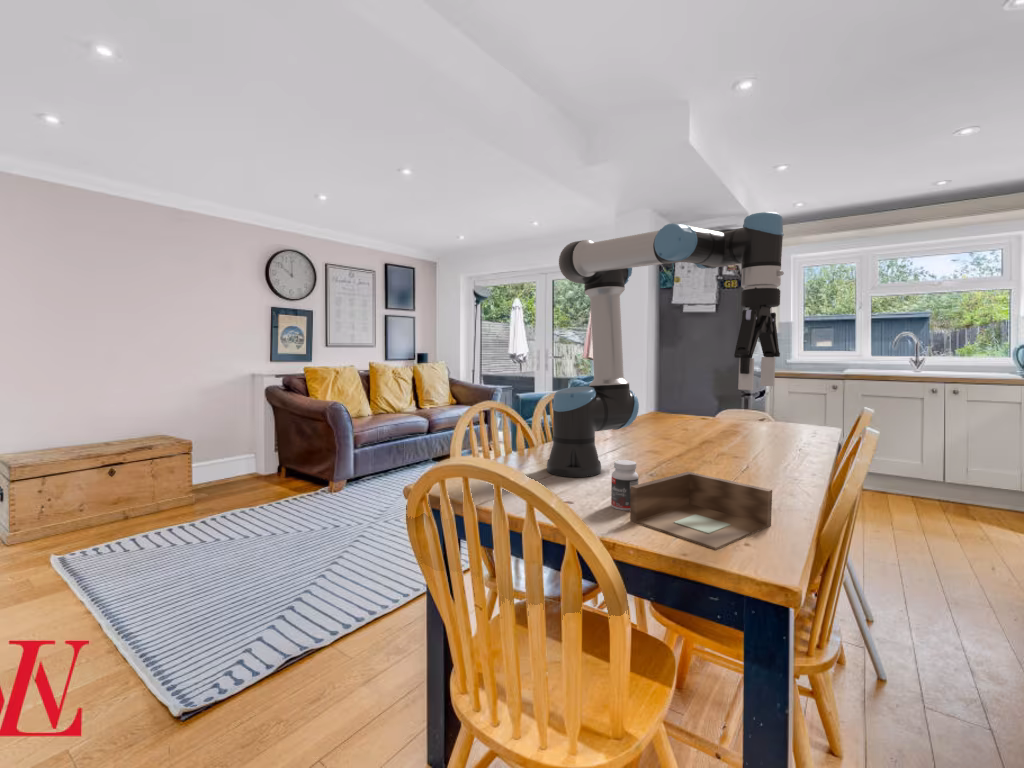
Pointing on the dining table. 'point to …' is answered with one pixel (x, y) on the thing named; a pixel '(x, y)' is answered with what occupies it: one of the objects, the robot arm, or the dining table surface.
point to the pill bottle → (623, 484)
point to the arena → (701, 508)
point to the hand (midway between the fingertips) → (756, 387)
